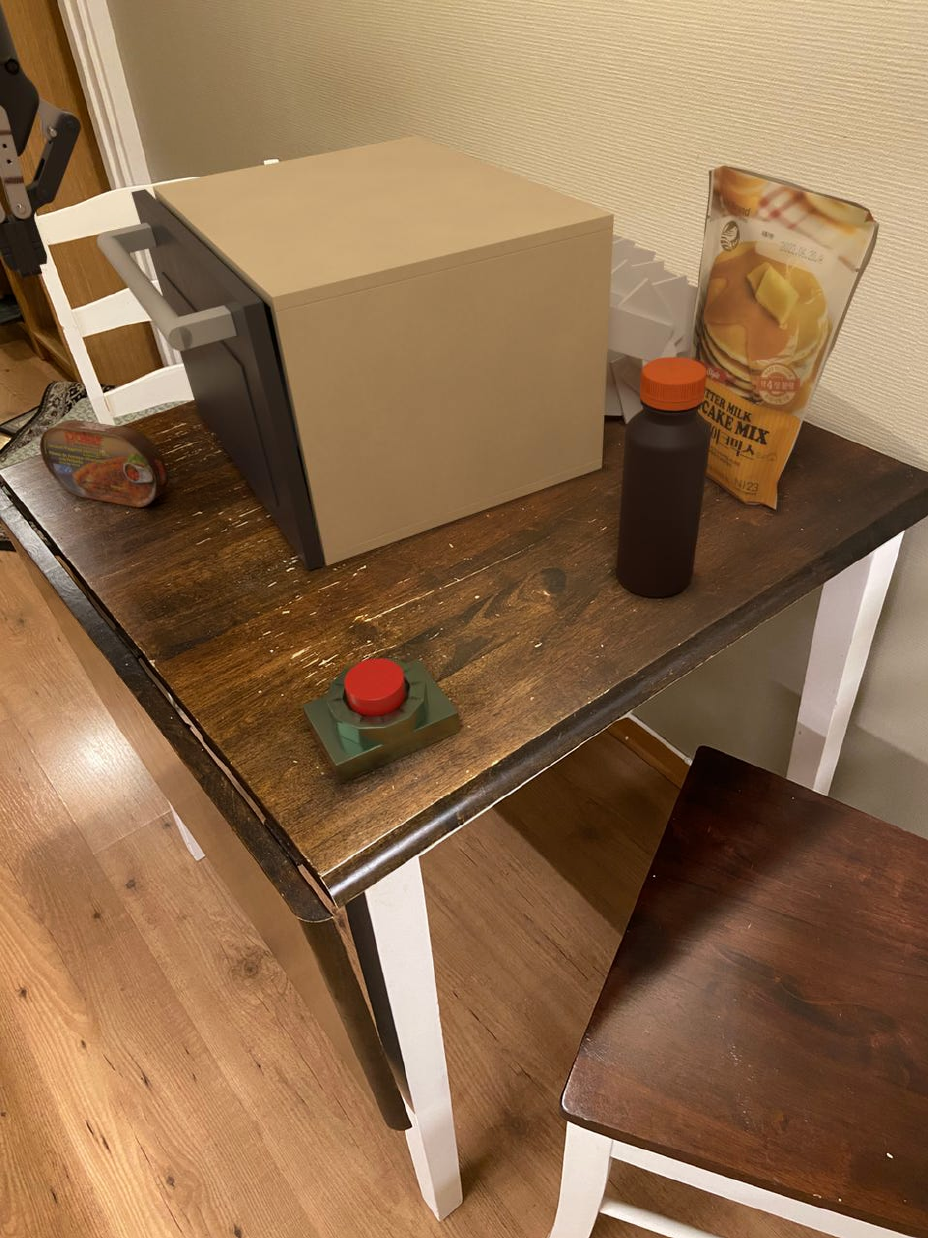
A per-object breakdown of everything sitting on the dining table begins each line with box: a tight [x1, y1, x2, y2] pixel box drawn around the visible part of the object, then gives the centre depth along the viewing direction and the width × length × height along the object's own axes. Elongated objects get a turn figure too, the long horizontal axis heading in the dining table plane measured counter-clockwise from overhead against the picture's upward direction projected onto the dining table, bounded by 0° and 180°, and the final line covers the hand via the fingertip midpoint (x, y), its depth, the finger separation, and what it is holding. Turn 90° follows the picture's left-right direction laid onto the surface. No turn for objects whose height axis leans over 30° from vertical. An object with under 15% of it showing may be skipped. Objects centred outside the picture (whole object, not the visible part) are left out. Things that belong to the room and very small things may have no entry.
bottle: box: [615, 357, 711, 598], centre depth 74 cm, size 7×7×20 cm
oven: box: [152, 135, 615, 567], centre depth 95 cm, size 32×40×26 cm
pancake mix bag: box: [691, 165, 880, 510], centre depth 84 cm, size 7×19×28 cm, turn 24°
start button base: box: [301, 657, 461, 785], centre depth 67 cm, size 10×7×4 cm
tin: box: [39, 419, 169, 508], centre depth 94 cm, size 15×3×8 cm, turn 68°
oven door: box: [96, 188, 324, 571], centre depth 89 cm, size 7×40×26 cm, turn 28°
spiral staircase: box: [604, 233, 698, 425], centre depth 103 cm, size 18×18×25 cm
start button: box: [344, 658, 406, 716], centre depth 65 cm, size 4×4×2 cm
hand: (30, 272), depth 63 cm, fingers closed
